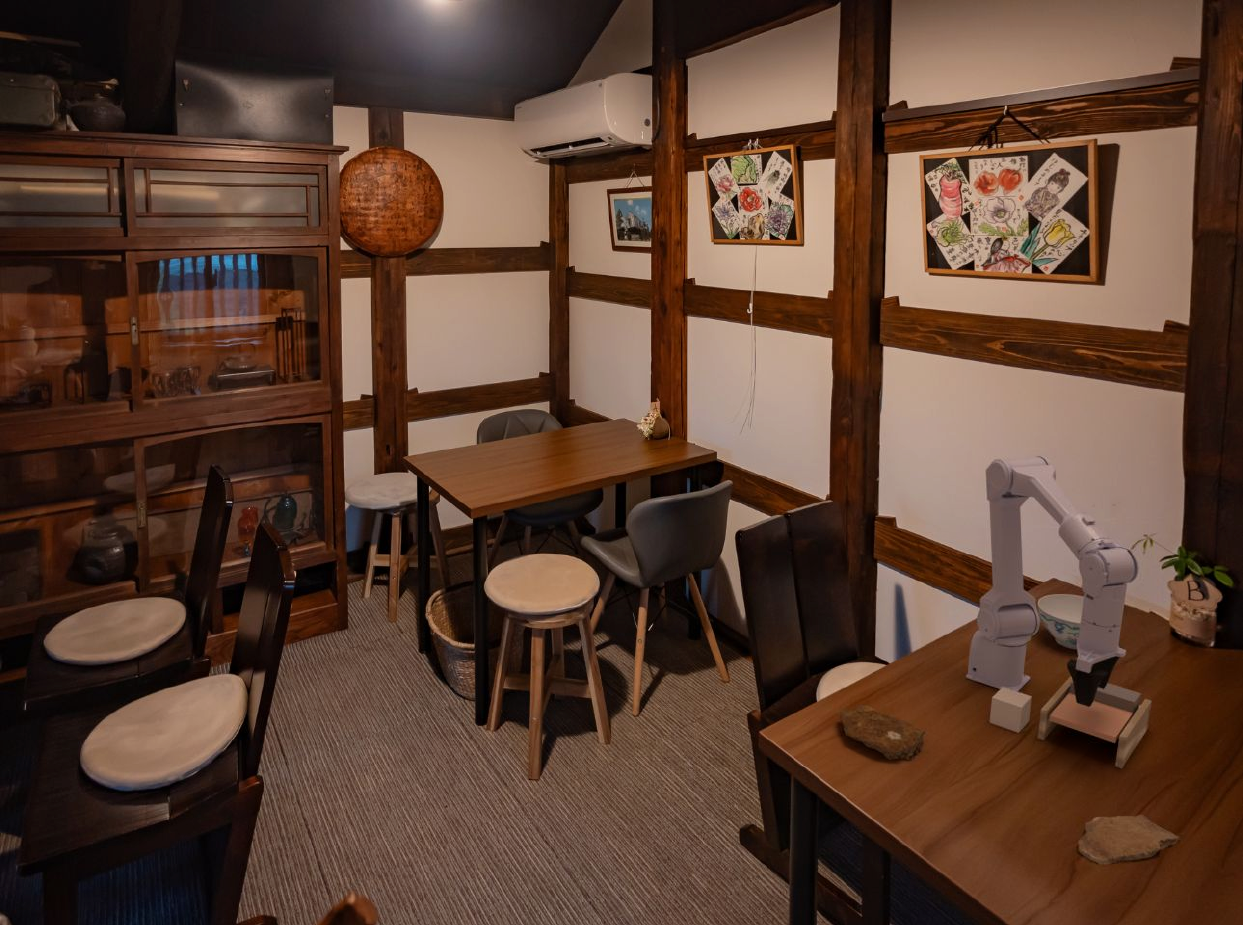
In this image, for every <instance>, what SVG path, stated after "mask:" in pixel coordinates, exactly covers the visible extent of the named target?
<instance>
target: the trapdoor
mask: <svg viewBox="0 0 1243 925" xmlns="http://www.w3.org/2000/svg"><path fill="white" fill-rule="evenodd" d="M1141 694H1142V693H1140V692H1138V691H1134V690H1132V689H1130V688H1129V689H1128V688H1126V687H1125V688H1124V687H1121V686H1119V685H1115V684H1112V683H1109V682H1108V683H1107V685H1106V687H1105V688H1104V689H1102V688H1099V687H1098V689H1097V692H1096V695H1095V698H1094V701H1093V703H1092V705H1091V706H1090V707H1088V706H1084V705H1081V704H1078V703H1077V702H1076V697H1075V690H1074V684H1073V681H1072V682H1071V685H1070V692H1069V694H1068V695H1067V696H1066V697H1065V698H1064V700H1063V701H1062V702H1061V703H1060V704H1059V705H1058V707H1057V708H1056V709H1055V710H1054V711H1053V712H1052V714H1051V715H1050V720H1049V721H1052V722H1055V723H1058V724H1057V725H1061V726H1064V727H1066V728H1070V729H1073V730H1076V731H1079V732H1082V733H1085V734H1087V735H1090V736H1094V737H1095V738H1098V739H1101V740H1105V741H1108V742H1110V743H1114V744H1115V743H1116V742H1117V741H1118V740H1119V736H1120V735H1121V733H1122V732H1123V730H1124V729H1125V727H1126V726H1127V724H1128V723H1129V722H1130V720H1131V719H1132V717H1133V716H1134V714H1135V713H1136V711H1137V710H1138V709H1139V705H1140V702H1141Z"/></svg>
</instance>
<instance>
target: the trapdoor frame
mask: <svg viewBox="0 0 1243 925" xmlns="http://www.w3.org/2000/svg"><path fill="white" fill-rule="evenodd" d="M1072 681H1073V680H1072V677H1071V675H1070V676H1069V677H1068V679H1066V681H1065V682H1064V683H1063V684H1062V685H1061V686H1060V687H1059V688H1058V690H1057V691H1056V692H1055V693H1054V694H1053V696H1052V697H1050V699H1049V700H1048V701H1047V702H1046V703H1045V704H1044V705H1043V707H1041V709H1040V715H1039V724H1038V731H1037V732H1038V733H1037V739H1038V740H1041V741H1045V740H1046V738H1047V737H1048V736H1049V735H1050V734H1051V732H1052V731H1053V730H1054V729H1055V728H1056V726H1057V725H1059V724H1058V723H1055V722H1052V721H1049V720H1050V715H1051V714H1052V712H1053V711H1054V710H1055V709H1056V708H1057V707H1058V705H1059V704H1060V703H1061V702H1062V701H1063V700H1064V698H1065V697H1066V696H1067V695H1068V694H1069V692H1070V685H1071V682H1072ZM1151 708H1152V700H1150V699H1148V698H1144V700H1143V702H1142V703H1141V704H1139V709H1138V710H1137V711H1136V713H1135V714H1134V716H1133V717H1132V719H1131V720H1130V722H1129V723H1128V724H1127V726H1126V727H1125V729H1124V730H1123V732H1122V733H1121V735H1120V736H1119V738H1118V746H1117V750H1116V751H1117V752H1116V758H1115V764H1114V767H1117V768H1120V769H1123V768H1124V766H1125V765H1126V763H1127V761H1128V760H1129V759H1130V758H1131V755H1132V753H1133V752H1134V751H1135V749H1136V748H1137V746H1138V745H1139V743H1140V741H1141V740H1142V738H1143V736H1144V735H1145V734H1146V732H1147V731H1148V728H1149V720H1150V715H1151V710H1152V709H1151Z"/></svg>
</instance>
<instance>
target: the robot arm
mask: <svg viewBox="0 0 1243 925" xmlns="http://www.w3.org/2000/svg"><path fill="white" fill-rule="evenodd" d="M1056 479H1057V471H1056V468H1055V467H1054V466H1053V465H1052V463H1051V462H1050V460H1049V459H1048V458H1047V457H1046V456H1042V455H1036V456H1032V457H1031V456H1029V457H1018V458H1005V459H1004V458H1003V459H1002V458H996V459H994V460H993V461H992V462H991V463H990V464H989V465H988V467H987V468H986V469H985V483H986V484H985V485H986V486H985V487H986V500H987V501H988V502H989V503H988V504H989V521H990V543H991V544H990V545H991V546H990V547H991V548H990V549H991V550H990V551H991V552H990V553H991V571H992V572H991V573H992V576H991V577H992V588H991V589H990V590H988V591H987V592H986V593H984V595H982V596H981V597H980V599H979V608H978V612H977V618H976V624H977V627H978V630H977V631H976V632H975V633H974V635H972V636H973V637H972V639H971V642H970V647H969V648H970V649H969V655H968V656H969V657H968V669H967V674H966V675H965V678H966V679H968V680H971V681H974V682H977V683H981V684H984V685H987V686H990V687H993V688H995V689H999V690H1000V689H1001V688H1002V687H1005V688H1008V689H1011V690H1014V691H1017V692H1020V690H1021V689H1022V688H1023V687H1024V686H1025V685H1026V684H1027V683H1028V682H1029V681H1030V680H1031V676H1029V675H1026V674H1024V670H1025V662H1026V661H1025V660H1026V654H1027V653H1026V652H1027V646H1028V645H1027V644H1028V642H1031V640H1032V636H1033V635H1036V634H1037V633H1038V631H1039V629H1040V625H1041V624H1040V623H1041V618H1040V615H1039V611H1038V608H1037V605H1036V598H1035V597H1034V596H1033V595H1031V594H1030V593H1029V592H1028V591H1026V590H1025V589H1024V570H1023V569H1024V566H1023V546H1022V544H1023V543H1022V540H1023V539H1022V522H1021V520H1022V519H1021V517H1022V515H1021V506H1023V505H1024V504H1025V502H1027V500H1029V498H1034V500H1035V501H1036V502H1037V503H1038V504H1039V505H1040V506H1041V507H1042V508H1043V509H1044V510H1045V511H1046V512H1047V514H1049V515H1050V516H1051V517H1052V519H1054V521H1056V522H1057V523H1058V524H1059V528H1058V536H1059V537H1060V539H1061V540H1062V541H1063V542H1064V543H1065V545H1066V546H1067V548H1069V550H1070V551H1071V552H1072V554H1074V556H1075V558H1076V559H1077V560H1078V569H1079V574H1080V576H1081V579H1082V582H1081V583H1082V584H1081V588H1082V592H1083V593H1084V595H1083V597H1084V601H1083V609H1082V616H1081V624H1080V631H1079V639H1078V640H1077V644H1076V645H1077V649H1076V651H1077V656H1078V657H1077V658H1076V659H1073V658H1070V659H1069V660H1068V661H1067V664H1066V669H1067V671H1068V672H1069V674H1070V676H1071V677H1072V680H1073V684H1074V690H1075V697H1076V702H1077V703H1078V704H1081V705H1084V706H1088V707H1090V706H1091V705H1092V703H1093V701H1094V698H1095V695H1096V692H1097V689H1098V687H1099V688H1102V689H1104V688H1105V687H1106V685H1107V683H1109V680H1110V678H1111V675H1112V674H1113V673H1112V672H1113V670H1114V668H1115V665H1116V664H1117V662H1118V660H1119V659H1120V658H1124V657H1126V654H1127V650H1126V649H1124V648H1123V647H1121V646H1120V645H1119V644H1120V643H1119V642H1120V635H1121V630H1122V622H1123V621H1122V620H1123V615H1124V609H1125V602H1126V595H1127V588H1128V587H1127V586H1128V584H1129V583H1130V584H1131V583H1133V581H1135V580H1136V579H1137V577H1138V573H1139V563H1138V560H1137V557H1136V556H1135V554H1134V553H1133V551H1132V550H1131V548H1129V547H1127V546H1122V545H1119V544H1118V543H1117V542H1113V541H1112V540H1111V539H1110V537H1109V536H1108V535H1107V534H1106V533H1105V532H1104V531H1103V529H1102V528H1101V527H1100V526H1099V525H1098V523H1097V522H1096V520H1095V519H1094V518H1093V516H1092V515H1089V514H1087V513H1079V512H1078V511H1077V509H1076V508H1075V506H1074V505H1073V504H1072V502H1071V500H1070V499H1069V498H1068V497H1067V495H1066V494H1065V492H1064V491H1063V489H1062V487H1061V486H1060V485H1059V484H1058V482H1057V480H1056Z"/></svg>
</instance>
